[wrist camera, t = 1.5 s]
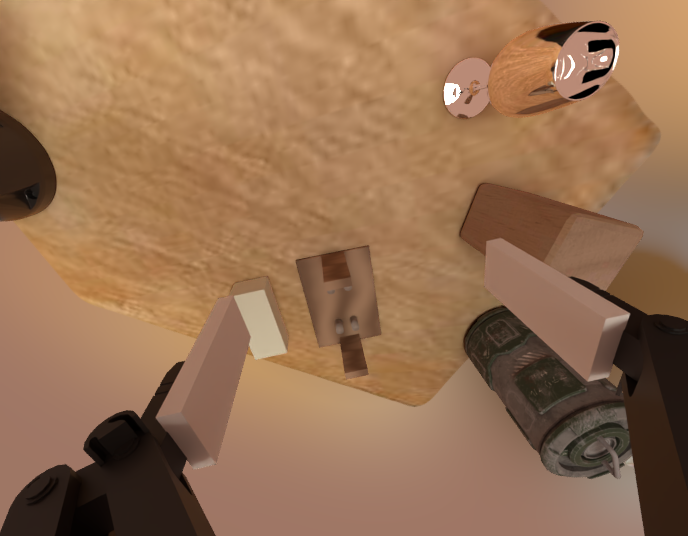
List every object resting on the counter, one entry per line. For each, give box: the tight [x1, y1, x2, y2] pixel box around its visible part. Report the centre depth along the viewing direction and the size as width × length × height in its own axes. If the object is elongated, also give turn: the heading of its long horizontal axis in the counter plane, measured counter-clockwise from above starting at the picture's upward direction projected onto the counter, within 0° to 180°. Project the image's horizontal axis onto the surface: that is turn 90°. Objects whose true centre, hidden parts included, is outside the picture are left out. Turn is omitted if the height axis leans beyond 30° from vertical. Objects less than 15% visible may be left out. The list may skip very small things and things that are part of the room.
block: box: [460, 183, 643, 291], centre depth 42 cm, size 10×10×20 cm
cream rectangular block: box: [229, 276, 289, 360], centre depth 52 cm, size 6×14×5 cm, turn 11°
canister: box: [465, 307, 632, 479], centre depth 51 cm, size 16×16×28 cm
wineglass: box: [443, 21, 619, 119], centre depth 33 cm, size 8×8×20 cm
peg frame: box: [296, 246, 381, 379], centre depth 51 cm, size 13×20×10 cm, turn 10°
